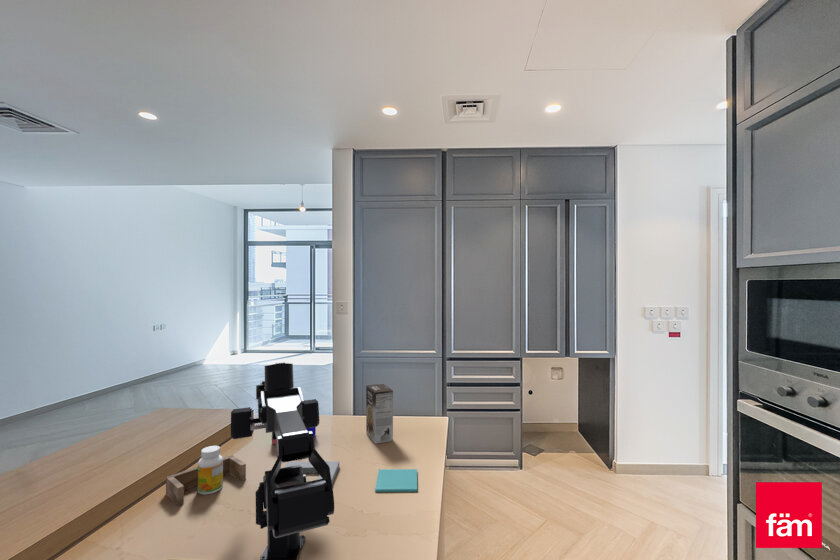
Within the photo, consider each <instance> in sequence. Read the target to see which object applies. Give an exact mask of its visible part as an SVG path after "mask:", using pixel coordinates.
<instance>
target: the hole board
mask: <svg viewBox="0 0 840 560" xmlns="http://www.w3.org/2000/svg"><path fill="white" fill-rule="evenodd" d="M324 461H325V462H326V463H327V464H328V466H329V468H330V474H331V481H332V485H333V483H334V481H335V478H336V477H337V474H338V472H339V469H340V460H337V461H336V460H332V461H331V460H330V461H329V460H328V461H327V460H324ZM296 465H300V466H302V472H303V474H318V475H319V473H318V472H317V471H316V470H315V468H314V467H313V466H312V465H311V463H310V462H309V460H308V461H307V460H305V461H289V462H285V465H284V466H283V467H282V468H286V467H291V466H296ZM319 479H323V478H322V477H321V476H320V475H319V476H318V477H317V479H316V480H319ZM309 481H310V480H306V482H309Z"/></svg>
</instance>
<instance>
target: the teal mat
mask: <svg viewBox="0 0 840 560" xmlns="http://www.w3.org/2000/svg"><path fill="white" fill-rule="evenodd" d="M376 479H377V480H376V483H375V489H374V491H375V492H374V493H398V492H399V493H402V492H403V493H406V492H407V493H408V492H409V493H414V492H418V469H417V468H411V469H410V468H404V469H402V468H401V469H400V468H397V469H394V468H392V469H391V468H389V469H387V468H386V469H381V468H380V469H378V474H377V478H376Z"/></svg>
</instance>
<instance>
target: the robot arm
mask: <svg viewBox="0 0 840 560" xmlns="http://www.w3.org/2000/svg"><path fill="white" fill-rule="evenodd" d="M255 397H256V398H255V399H256V400H257V415H258V416H257V418H254V416H253V410H252V408H251V407H250V406H249V407H240V408H234V409H233V410H232V411H230V438H231V439H233V440H239V439H240V440H241V439H246V438H251V437H252V436H253V434H254V432H255V430H262V429H265V434H267V433H269V434H271V440H272V439H273V440H275V439H277V445H276V460H275V462H274V464H273V466H272V468H271V469H270V470H266V471H264V475H263V477H262V481H261V482H259V484H258V488H257V489H256V491H255V525H258V526H259V527H260V528H259V529H260V530H262V529H265V528H267V542H266V543H267V545H266V546H265V549H264V551H263V552H262V553H261V556H260V557H259V559H260V560H298V558H299V555H300V553H301V551H302V549H303V546H304V544H305V542H306V539H307V538H306V537H307V536H306V535H301V533H302V532H306V531H311V530H314V529H318V528H322V527H326V526H328V525H330V524H329V523H330V522H331V520H330V517H329V516H331V515H334V513H335V497H334V489H333V484H332V481H331V474H330V468H329V466H328V464H327V463H326V462H325V461H326V460H324V459H323V457H322V456H321V455H320V453H319V452H318V451H317V450H316V447H315V439H314V436H313V433H312V431H308V430H307V429H306V428H312V427H318V426H319V425H320V410H319V409H320V408H319V405H320V404H319V401H318V400H317V399H316V398H315V399H306V400H304V396H303V392H302V388H301V387H300V386H299V387H295V386H294V364H293V363H288V362H287V363H286V362H276V363H274V364H273V363H272V364H269V365H264V381H262V380H261V382H260V383H259V384H257V385H256V386H255ZM305 459H308V461H309V462H310V463H311V465H312V466H313V467H314V468H315V470H316V471H317V472H318V473H317V474H318V475H320V476H321V477H322V478H323V479H319V480H317V479H315V480H308V481H309V482H306V481H307V475H306V473H303V472H302V466H300V465H296V466H291V467H286V468H283V467H282V464H283V463H287V462H296V461H299V460H305Z"/></svg>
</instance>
